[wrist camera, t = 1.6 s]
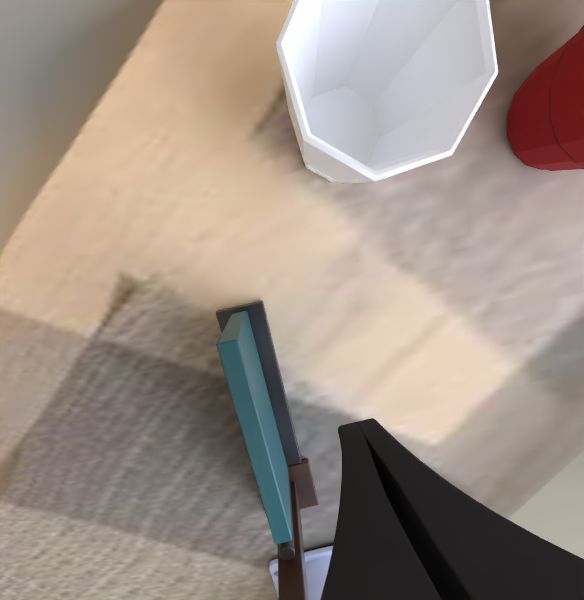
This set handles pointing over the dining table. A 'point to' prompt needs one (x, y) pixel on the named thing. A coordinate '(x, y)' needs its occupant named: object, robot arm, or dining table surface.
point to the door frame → (299, 472)
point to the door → (257, 421)
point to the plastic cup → (551, 111)
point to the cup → (383, 81)
